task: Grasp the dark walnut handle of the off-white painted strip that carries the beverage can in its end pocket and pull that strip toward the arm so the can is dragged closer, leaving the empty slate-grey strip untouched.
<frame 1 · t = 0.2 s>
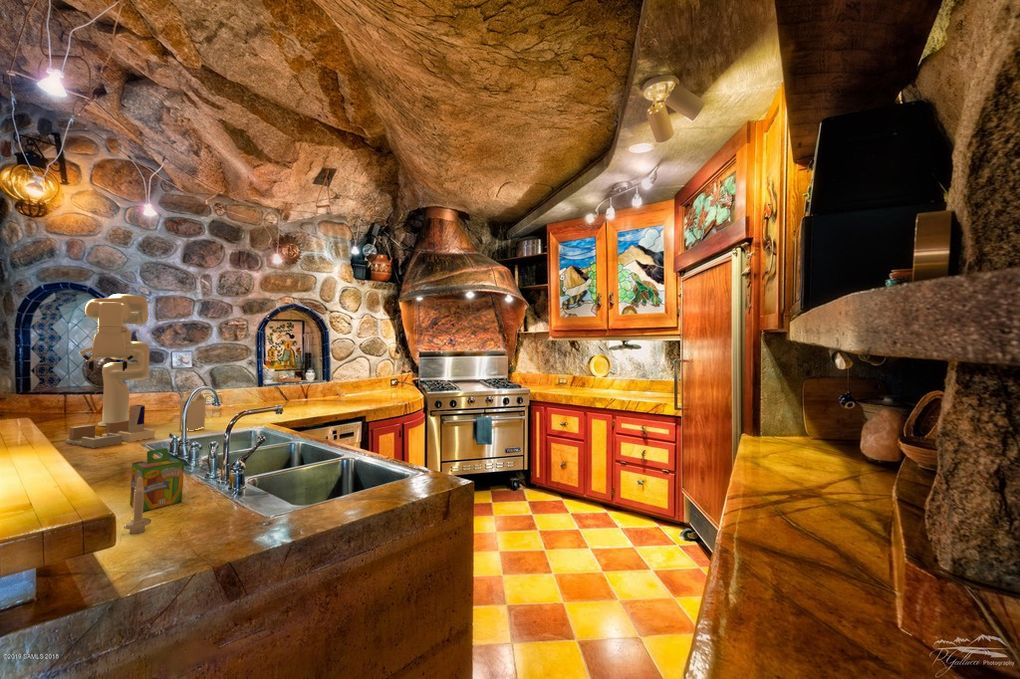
hand: (108, 370, 175), 30 cm above the countertop, tool pointing down, fingers open, 9 cm apart
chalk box: (156, 504, 113), on the countertop
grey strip: (94, 435, 172), point 3 cm above the countertop, slide at 0.0 cm
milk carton: (191, 430, 202), on the countertop
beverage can: (135, 439, 181), resting in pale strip
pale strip: (128, 430, 183), point 3 cm above the countertop, slide at 0.0 cm
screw: (137, 532, 96), on the countertop
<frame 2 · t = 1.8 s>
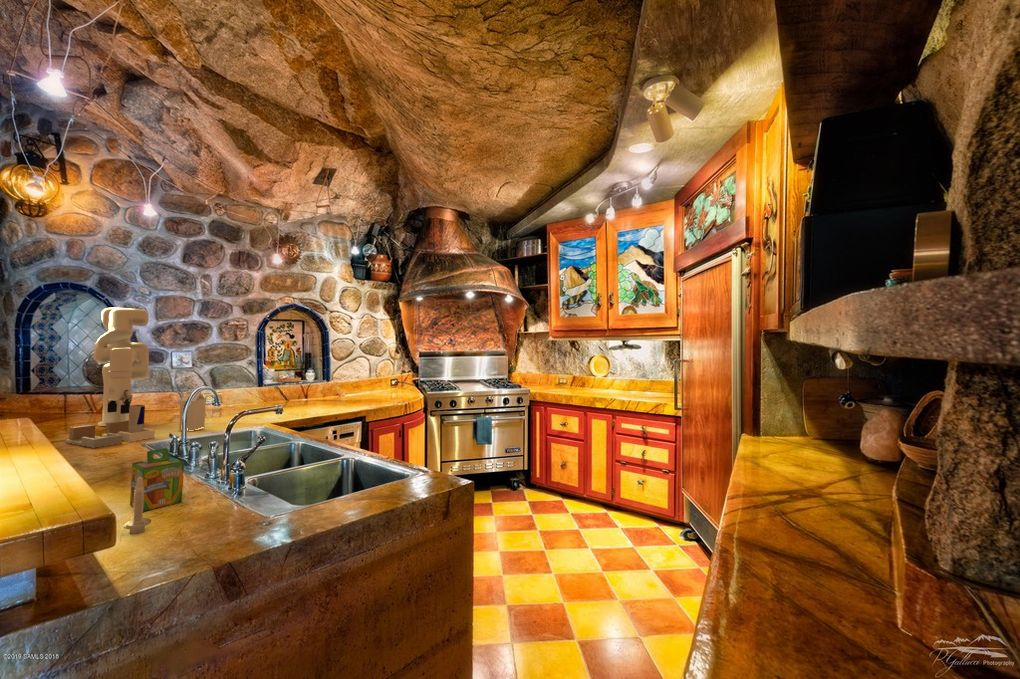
hand: (118, 412, 186), 10 cm above the countertop, tool pointing down, fingers open, 9 cm apart
nothing on the countertop moved.
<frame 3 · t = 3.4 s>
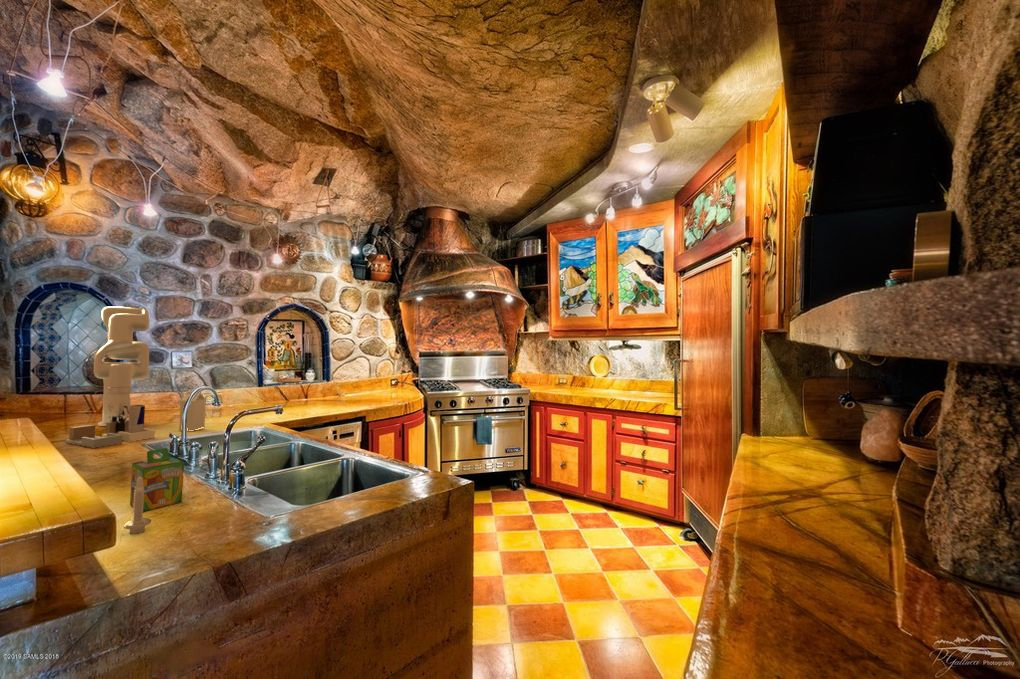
hand: (117, 430, 186), 2 cm above the countertop, tool pointing down, fingers closed on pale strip, 3 cm apart
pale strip: (128, 430, 183), point 3 cm above the countertop, slide at 0.0 cm, touching gripper
everything else where it was.
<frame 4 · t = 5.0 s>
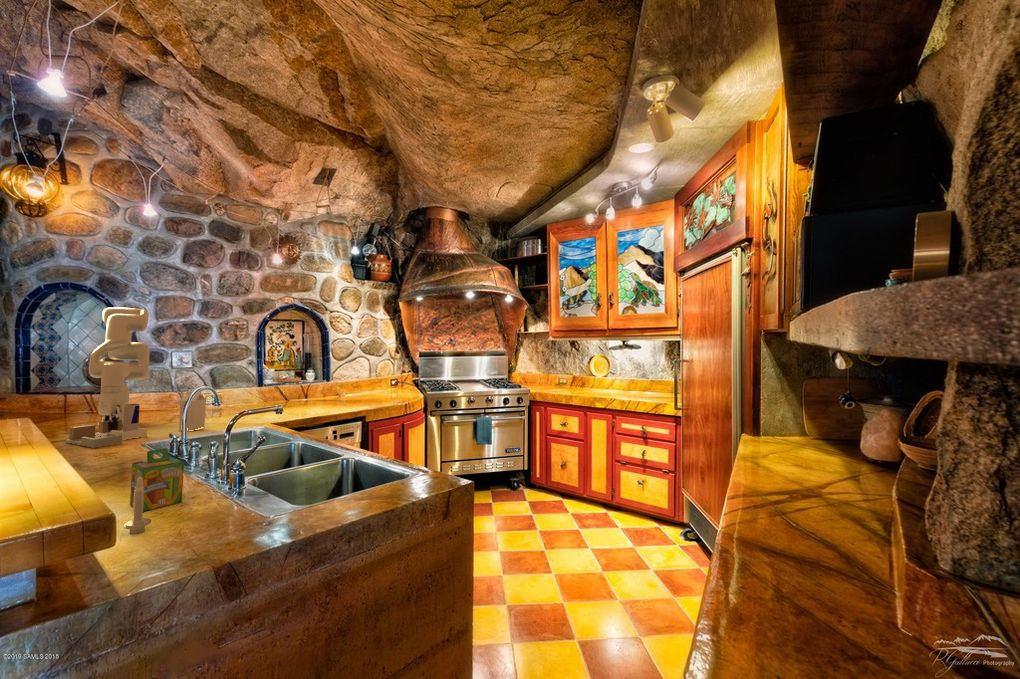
hand: (110, 429, 188), 2 cm above the countertop, tool pointing down, fingers closed on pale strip, 3 cm apart
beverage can: (130, 438, 183), resting in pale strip
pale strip: (121, 429, 185), point 3 cm above the countertop, slide at 5.5 cm, touching gripper
everything else where it was.
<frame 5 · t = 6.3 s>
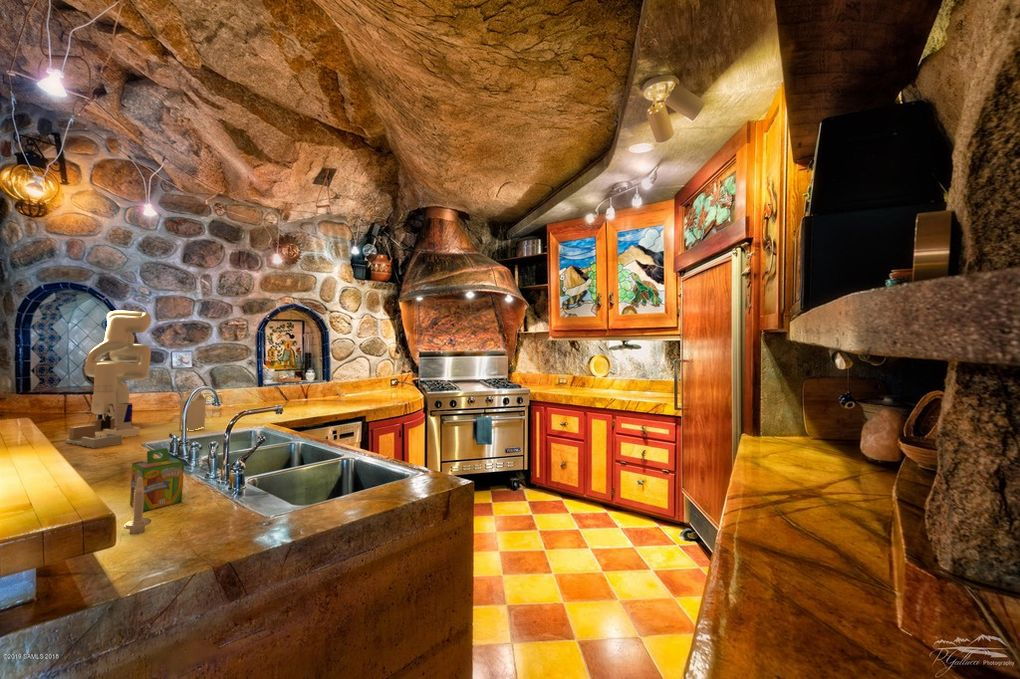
hand: (103, 428, 190), 2 cm above the countertop, tool pointing down, fingers closed on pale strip, 3 cm apart
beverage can: (123, 436, 185), resting in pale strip
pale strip: (114, 427, 187), point 3 cm above the countertop, slide at 10.9 cm, touching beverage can, gripper
everything else where it was.
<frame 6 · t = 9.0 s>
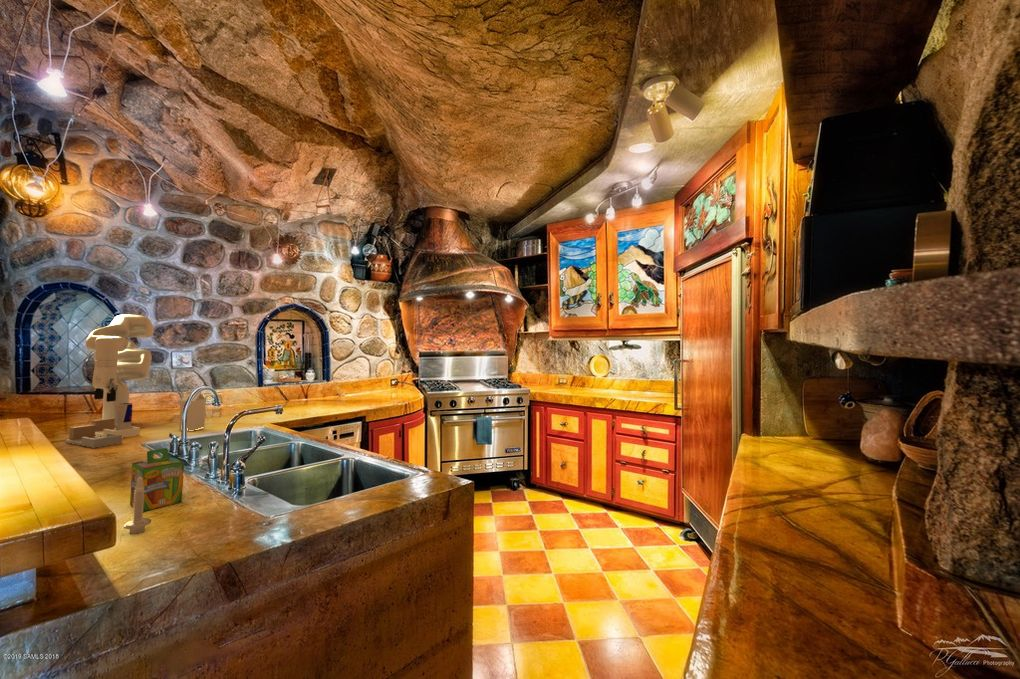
hand: (104, 400, 191), 15 cm above the countertop, tool pointing down, fingers open, 9 cm apart
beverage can: (123, 436, 185), resting in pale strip
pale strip: (114, 427, 187), point 3 cm above the countertop, slide at 11.0 cm
everything else where it was.
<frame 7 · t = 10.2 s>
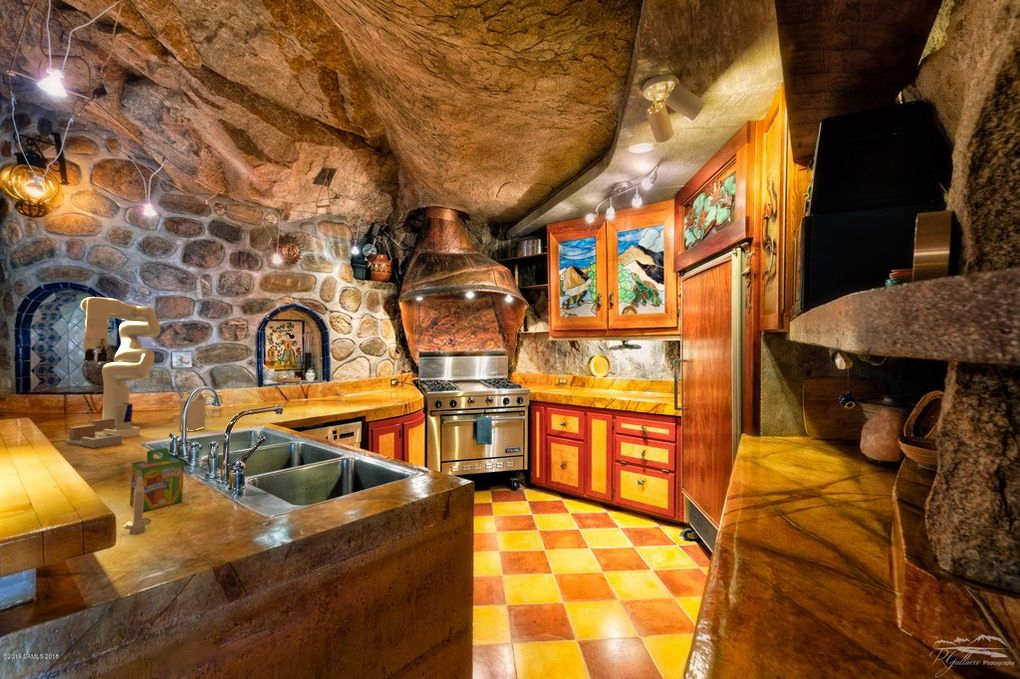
hand: (95, 361, 188), 33 cm above the countertop, tool pointing down, fingers open, 9 cm apart
nothing on the countertop moved.
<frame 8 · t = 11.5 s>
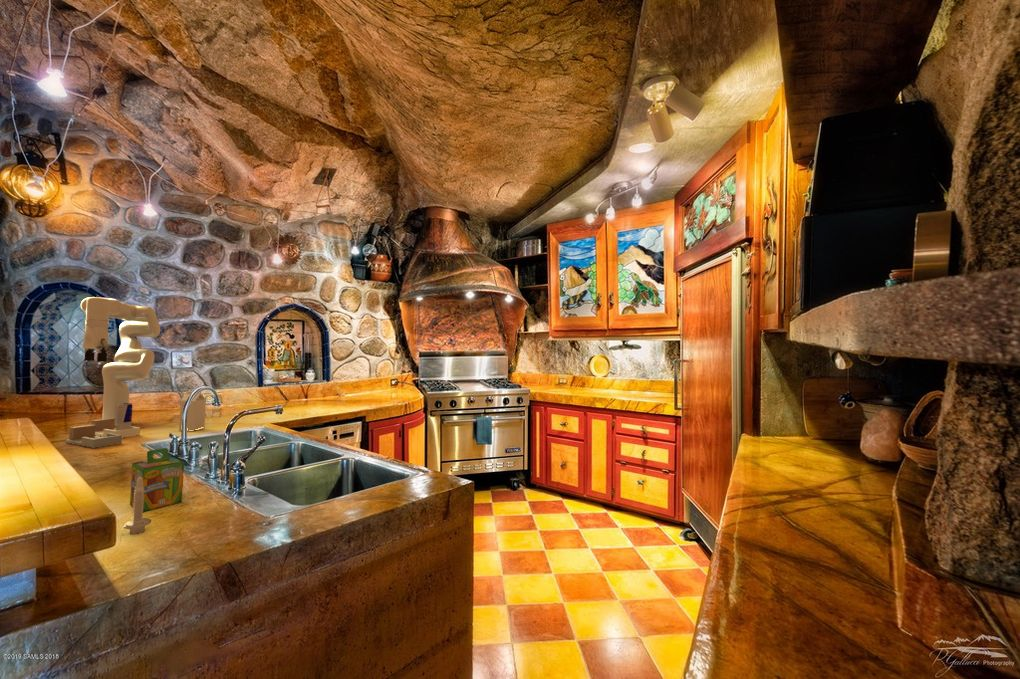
hand: (95, 361, 188), 33 cm above the countertop, tool pointing down, fingers open, 9 cm apart
nothing on the countertop moved.
at the end: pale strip slide at 11.0 cm; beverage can moved 9.7 cm from its start; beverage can tilted 0° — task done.
